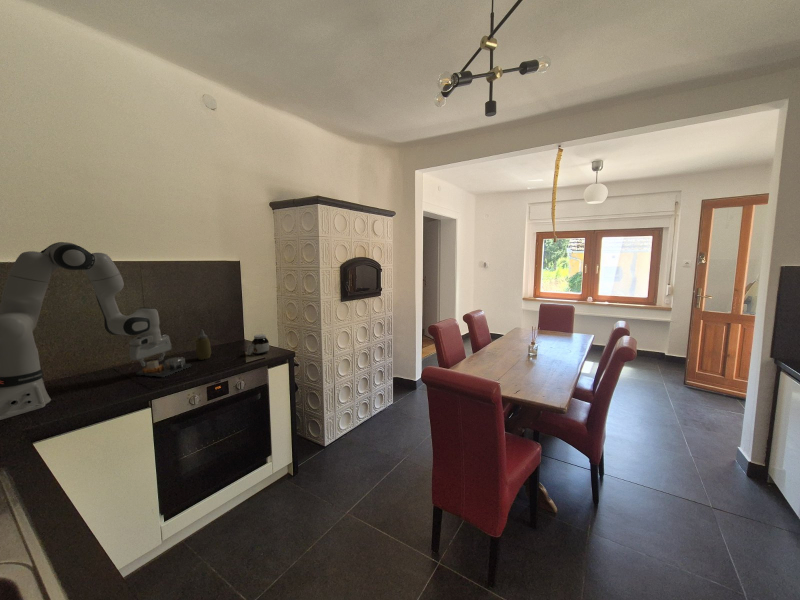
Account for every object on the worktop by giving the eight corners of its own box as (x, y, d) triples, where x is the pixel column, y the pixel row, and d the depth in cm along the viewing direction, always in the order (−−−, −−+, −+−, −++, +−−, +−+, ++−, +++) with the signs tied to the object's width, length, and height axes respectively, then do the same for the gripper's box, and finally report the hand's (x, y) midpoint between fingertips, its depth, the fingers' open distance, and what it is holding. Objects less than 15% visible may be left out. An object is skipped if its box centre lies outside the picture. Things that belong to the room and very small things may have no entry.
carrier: (163, 377, 164) (162, 365, 163) (136, 375, 168) (135, 362, 167) (191, 366, 181) (190, 355, 180) (166, 364, 184) (165, 353, 183)
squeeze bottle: (193, 359, 195) (191, 329, 193) (208, 355, 201) (205, 327, 199) (200, 361, 190) (197, 331, 188) (214, 358, 197) (212, 329, 195)
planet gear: (152, 373, 166) (151, 364, 165) (138, 372, 168) (137, 363, 167) (168, 367, 174) (167, 359, 174) (154, 366, 176) (154, 358, 176)
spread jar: (271, 352, 209) (270, 334, 207) (257, 357, 198) (256, 338, 197) (257, 350, 213) (256, 333, 212) (243, 355, 203) (242, 336, 202)
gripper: (163, 333, 180) (166, 357, 181) (125, 342, 160) (128, 369, 162) (173, 333, 178) (175, 357, 180) (135, 342, 159) (138, 369, 160)
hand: (152, 363), depth 171 cm, fingers open, 8 cm apart
